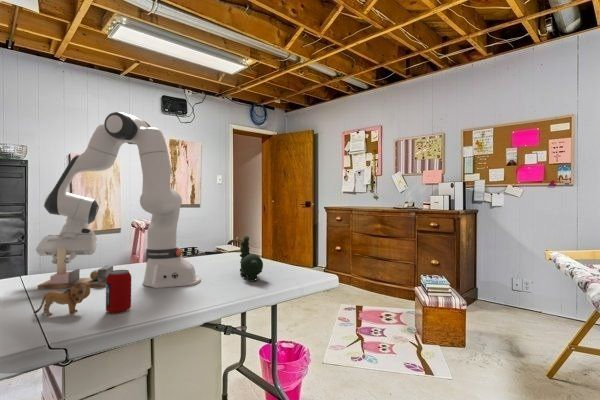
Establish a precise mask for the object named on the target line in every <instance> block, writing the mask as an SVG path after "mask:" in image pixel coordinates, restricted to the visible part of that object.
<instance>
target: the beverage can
mask: <svg viewBox="0 0 600 400" xmlns="http://www.w3.org/2000/svg"><path fill="white" fill-rule="evenodd" d="M131 307H132V274H131V273H130V271H129V269H115V270H114V269H113V271H110V272H109V274H108V276H107V278H106V287H105V312H108V313H109V314H114V315H115V314H122V313H125V312H127V311H128V310H130V309H131Z"/></svg>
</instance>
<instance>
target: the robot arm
mask: <svg viewBox="0 0 600 400" xmlns="http://www.w3.org/2000/svg"><path fill="white" fill-rule="evenodd" d="M126 143H127V144H129V145H136V146H137V149H138V155H139V160H140V167H141V172H142V186H141V187H142V191H141V195H140V198H139V203H140V205H139V206H141V207H140V208H141V209H143V210H144V212H147V213H149V214H151V218H150V222H149V226H148V227H147V239H146V240H147V241H146V243H147V244H146V249H145V263H146V264H145V271H144V277H143V280H142V283H141V284H142V285H143V286H145V287H146V286H147V287H151V288H154V289H161V288H172V287H184V286H195V285H197V284H200V283H201V281H202V279H201V276H199V275H197V274H196V270H195V267H194V265H193V263H191V262H189V261H188V260H187V259H185V258H184V257H183V256H182V248H179V247H178V246H177V233H178V232H177V231H178V230H177V228H178V222H179V217H180V211H181V206H182V202H183V200H182V199H183V198H182V196H181V195H180V193H179V192H178V191H176V190H175V189H173V188H171V176H172V165H171V160H170V155H169V154H170V153H169V149H168V146H167V143H166V139H165V136H164V134H163V132H162V130H160V129H158V128H157V127H152V126H151V125H150V124H149V123H148V122H146V120H142V119H140V118H139V117H136V116H135V115H132V114H128V113H125V112H120V111H114V112H110V113H109V114H108V115H107V116H106V117H105V119H104V123H103V124H99V125H98V126H97V127H96V128H95V130H94V132H93V134H92V135H91V137H90V140H89V142H88V144H87V148H86V149H85V150H84V151H83V152H82V153H81V154H77V155H75V156H73V158H71V160H70V161H69V163H68V164H67V166H66V167H65V169H64V170H63V172H62V174H61V175H60V178H58V180H57V182H56V183H55V185H54V187H53V189H52V190H51V191H50V192H49V193H48V195H46V197H45V199H44V204H43V207H44V209H45V210H46V211H47V213H48V214H50V215H55V216H63V217H66V219H65V223H64V225H63V226H62V228H61V229H60V230H61V231H60V232H59V234H54V235H53V234H48V235H45V236H44V237H42V239H41V241H40V242H39V243H38V245H37V246H36V248H35V252H36V253H37V255H39V256H41V257H43V256H44V257H45V256H46V257H47V256H48V257H49V256H52V260H51V263H52V264H53V265H54V264H55V265H57V248H67V249H66V256H68V257H66V260H65V263H66V264H71V262H72V261H73V260H74V259H75V258H77V256H91V255H94V253H96V250H97V236H96V233H95V231H94V230H93V229H90V228H89V226H90V224H92V223H93V222H95V220H96V217H97V214H98V212H99V208H100V206H99V203H98V202H97V201H96V200H95V199H93V198H90V197H87V196H82V195H79V194H74V193H71V192H68V191H67V190H68V188H69V186H70V184H71V183H72V181H73V179H74V177H75V176H76V175H77V174H79V173H84V172H100V171H101V172H103V171H106V170H108V169H110V168H111V167H113V165H114V164H115V161H116V159H117V157H118V154H119V150H120V149H121V147H122V145H123V144H126Z"/></svg>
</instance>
